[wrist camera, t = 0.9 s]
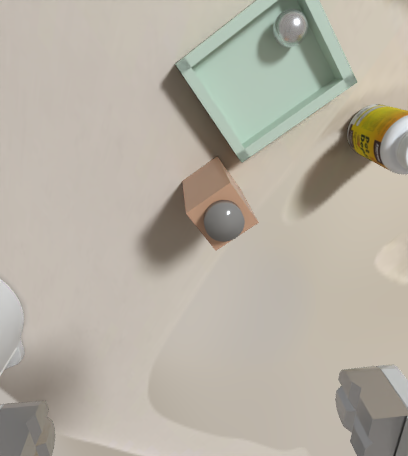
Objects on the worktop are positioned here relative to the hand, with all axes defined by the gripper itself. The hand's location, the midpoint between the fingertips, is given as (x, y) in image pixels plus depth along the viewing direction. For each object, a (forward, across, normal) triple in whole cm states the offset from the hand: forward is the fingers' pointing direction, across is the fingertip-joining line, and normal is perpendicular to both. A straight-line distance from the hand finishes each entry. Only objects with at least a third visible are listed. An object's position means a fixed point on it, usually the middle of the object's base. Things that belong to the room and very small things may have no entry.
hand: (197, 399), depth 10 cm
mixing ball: (+31, -11, -10) cm, 34 cm away
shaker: (+31, -4, +5) cm, 32 cm away
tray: (+31, -9, -6) cm, 33 cm away
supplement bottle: (+31, -21, 0) cm, 37 cm away
